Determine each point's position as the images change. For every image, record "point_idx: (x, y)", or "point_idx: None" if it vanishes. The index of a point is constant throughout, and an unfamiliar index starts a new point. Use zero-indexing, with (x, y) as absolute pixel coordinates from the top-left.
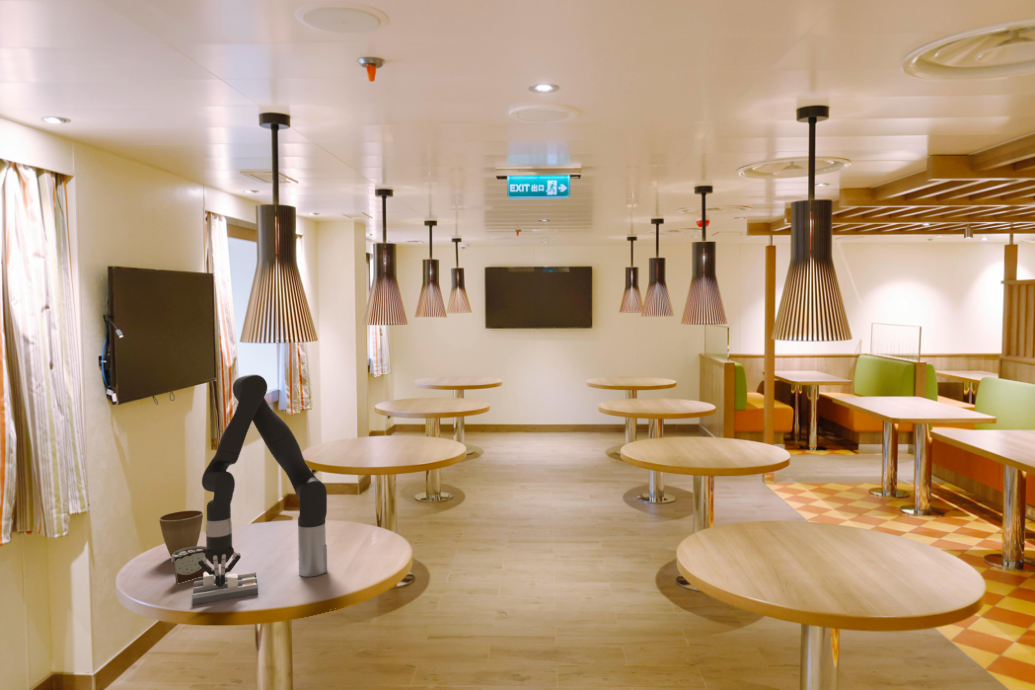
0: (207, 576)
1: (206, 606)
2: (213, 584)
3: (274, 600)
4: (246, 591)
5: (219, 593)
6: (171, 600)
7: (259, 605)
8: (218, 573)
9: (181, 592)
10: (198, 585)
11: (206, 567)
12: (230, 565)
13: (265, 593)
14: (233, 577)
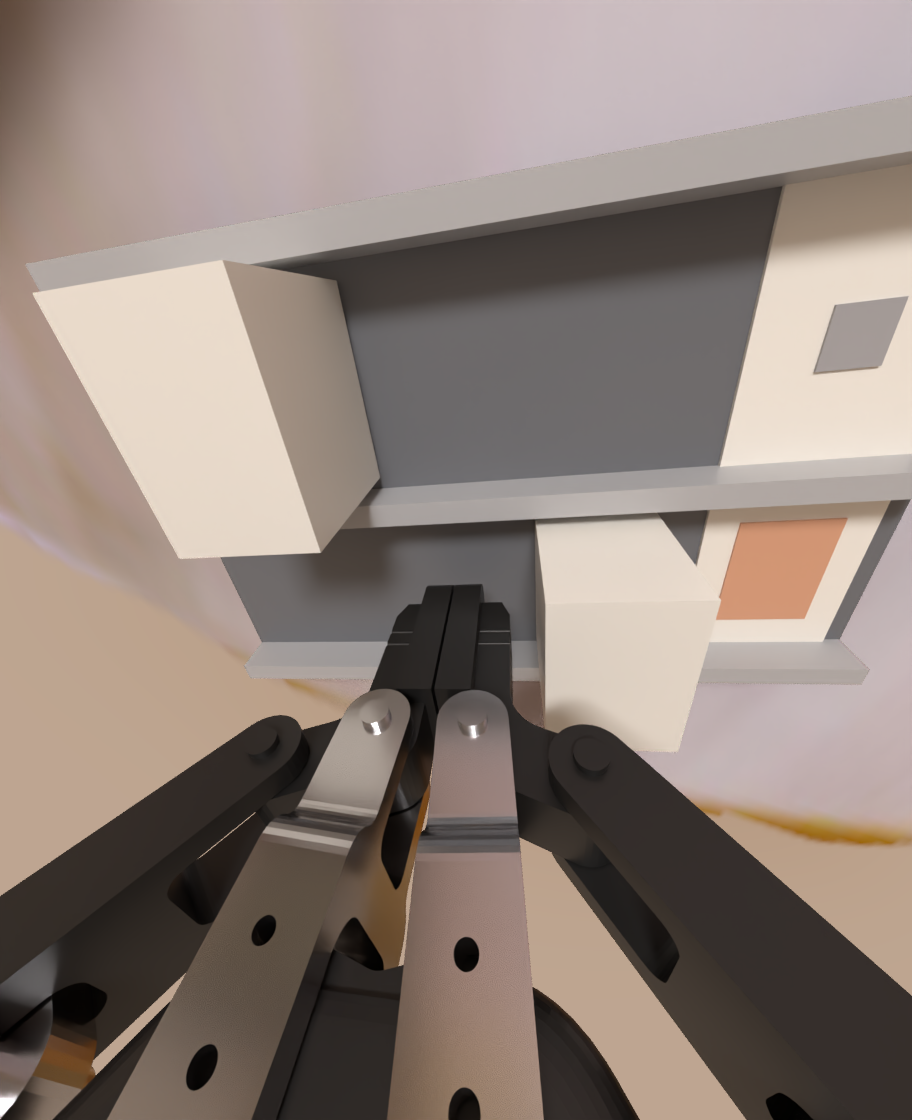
0: (236, 555)
1: None
2: (365, 490)
3: (851, 749)
4: None
5: None
6: (67, 466)
7: (727, 770)
8: (420, 799)
9: (11, 252)
10: None
11: (185, 950)
12: (634, 960)
13: (860, 619)
14: (624, 733)
